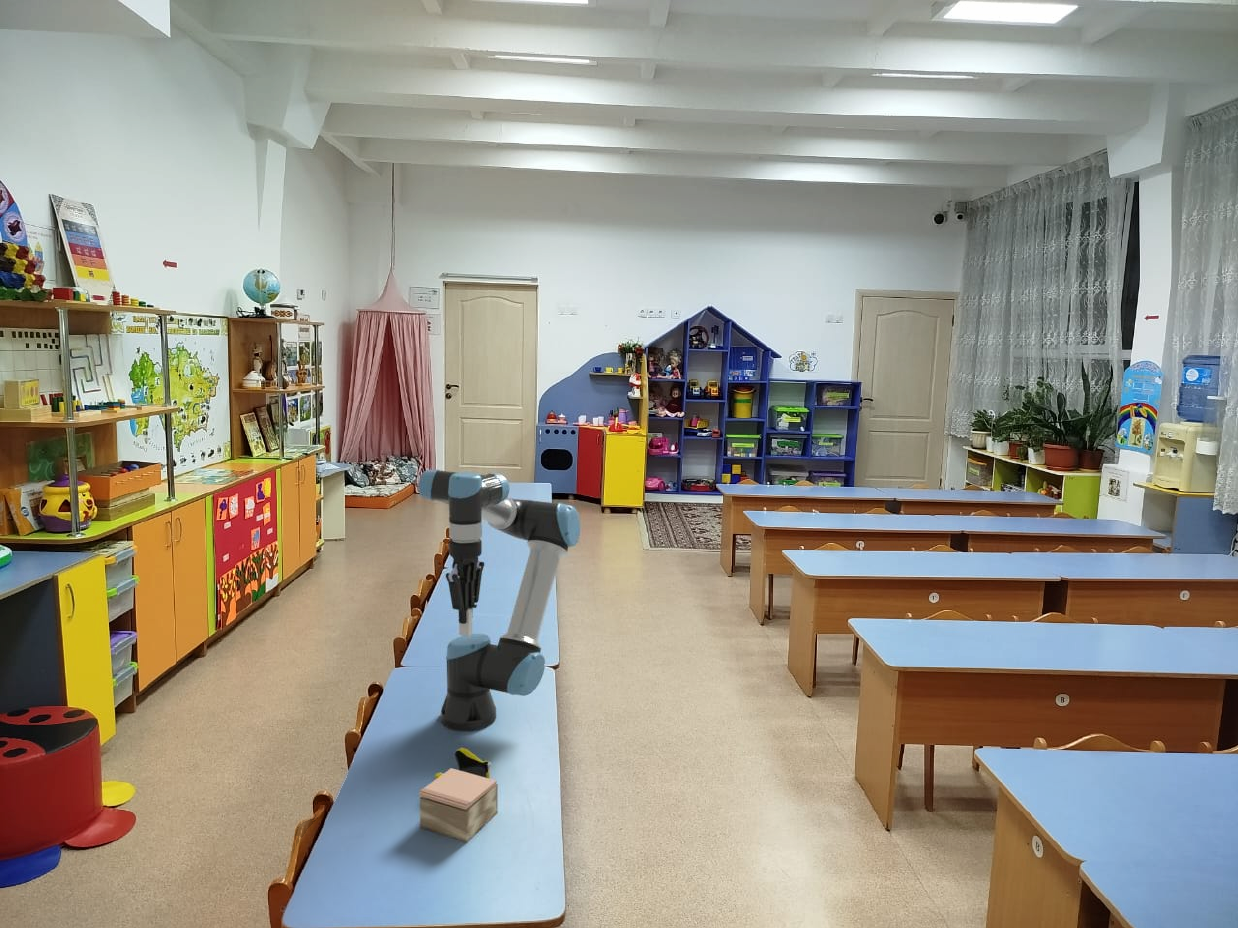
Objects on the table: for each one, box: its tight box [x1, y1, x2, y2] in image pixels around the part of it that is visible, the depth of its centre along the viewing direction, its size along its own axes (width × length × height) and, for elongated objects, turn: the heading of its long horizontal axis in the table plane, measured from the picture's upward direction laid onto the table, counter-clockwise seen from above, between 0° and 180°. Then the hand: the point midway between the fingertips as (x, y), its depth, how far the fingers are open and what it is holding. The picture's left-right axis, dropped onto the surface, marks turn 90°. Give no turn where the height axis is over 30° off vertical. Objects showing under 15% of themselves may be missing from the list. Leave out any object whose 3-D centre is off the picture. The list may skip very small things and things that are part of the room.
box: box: [419, 783, 499, 843], centre depth 182 cm, size 12×12×7 cm
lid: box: [418, 767, 497, 810], centre depth 181 cm, size 12×12×1 cm
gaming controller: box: [434, 747, 492, 780], centre depth 197 cm, size 15×6×10 cm
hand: (465, 634), depth 199 cm, fingers closed
